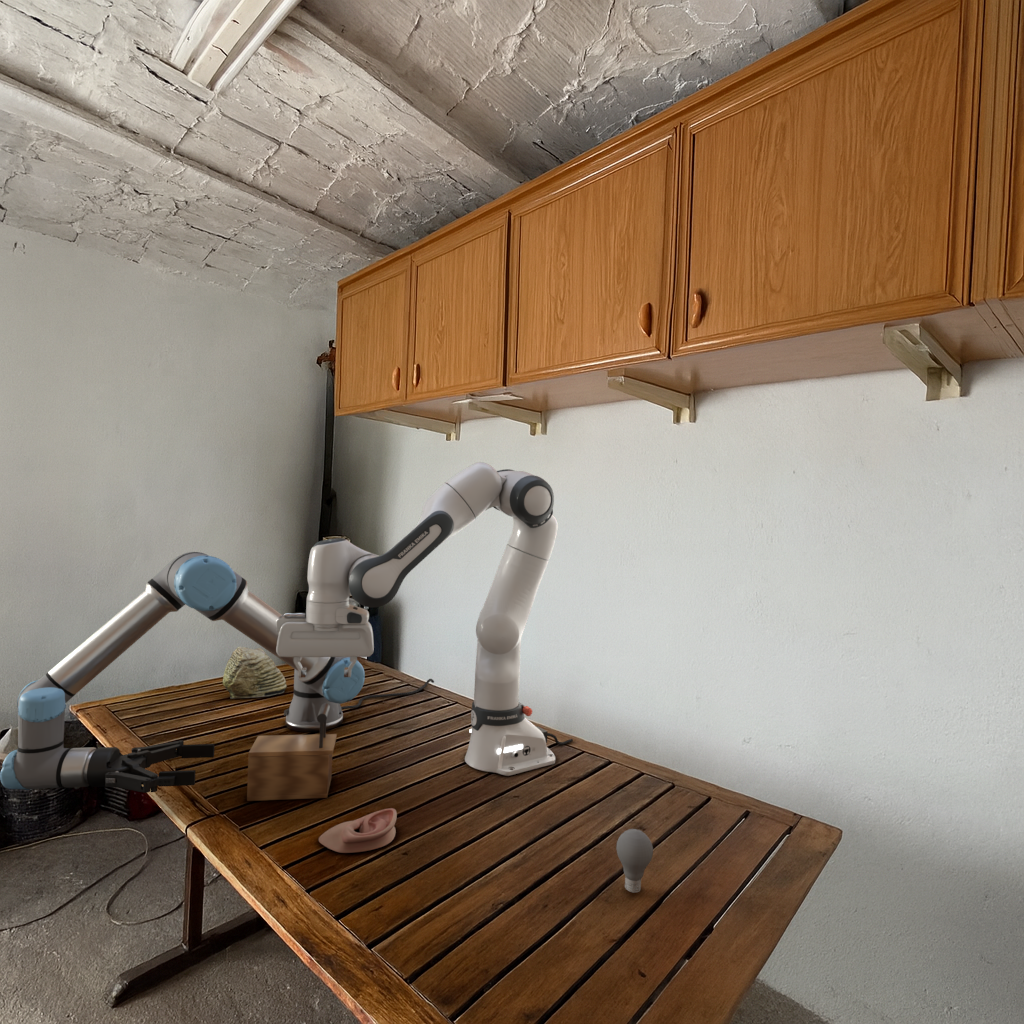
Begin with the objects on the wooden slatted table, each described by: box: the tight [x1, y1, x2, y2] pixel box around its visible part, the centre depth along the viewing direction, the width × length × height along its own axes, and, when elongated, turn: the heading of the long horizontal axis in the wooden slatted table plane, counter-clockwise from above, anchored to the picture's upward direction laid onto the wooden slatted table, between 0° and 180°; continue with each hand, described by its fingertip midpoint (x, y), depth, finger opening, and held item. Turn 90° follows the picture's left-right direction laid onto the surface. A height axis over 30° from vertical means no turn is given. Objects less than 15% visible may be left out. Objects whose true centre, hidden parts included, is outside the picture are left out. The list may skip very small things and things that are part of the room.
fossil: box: [222, 646, 288, 699], centre depth 198 cm, size 9×18×15 cm, turn 132°
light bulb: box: [615, 828, 654, 894], centre depth 106 cm, size 6×6×10 cm
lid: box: [248, 703, 338, 757], centre depth 136 cm, size 17×9×8 cm, turn 101°
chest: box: [246, 754, 333, 802], centre depth 136 cm, size 16×9×9 cm, turn 101°
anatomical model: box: [318, 807, 398, 854], centre depth 118 cm, size 13×4×12 cm
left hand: (205, 763), depth 133 cm, fingers open, 13 cm apart
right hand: (325, 676), depth 137 cm, fingers open, 8 cm apart
